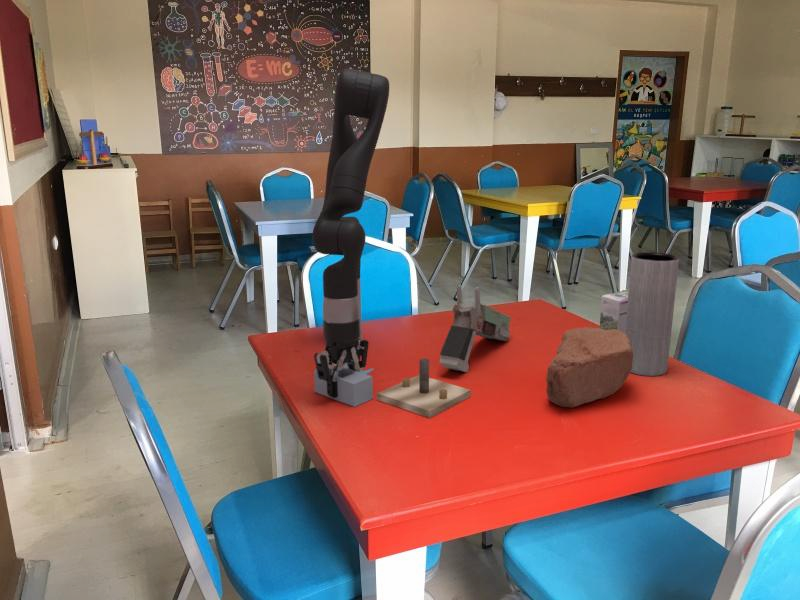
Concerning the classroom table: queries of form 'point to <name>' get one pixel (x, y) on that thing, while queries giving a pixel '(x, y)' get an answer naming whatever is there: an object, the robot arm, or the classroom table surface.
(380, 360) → the classroom table surface
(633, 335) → the vase
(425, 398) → the post base
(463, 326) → the ray gun
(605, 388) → the stone
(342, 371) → the grey rectangular block
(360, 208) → the robot arm
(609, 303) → the syrup box
